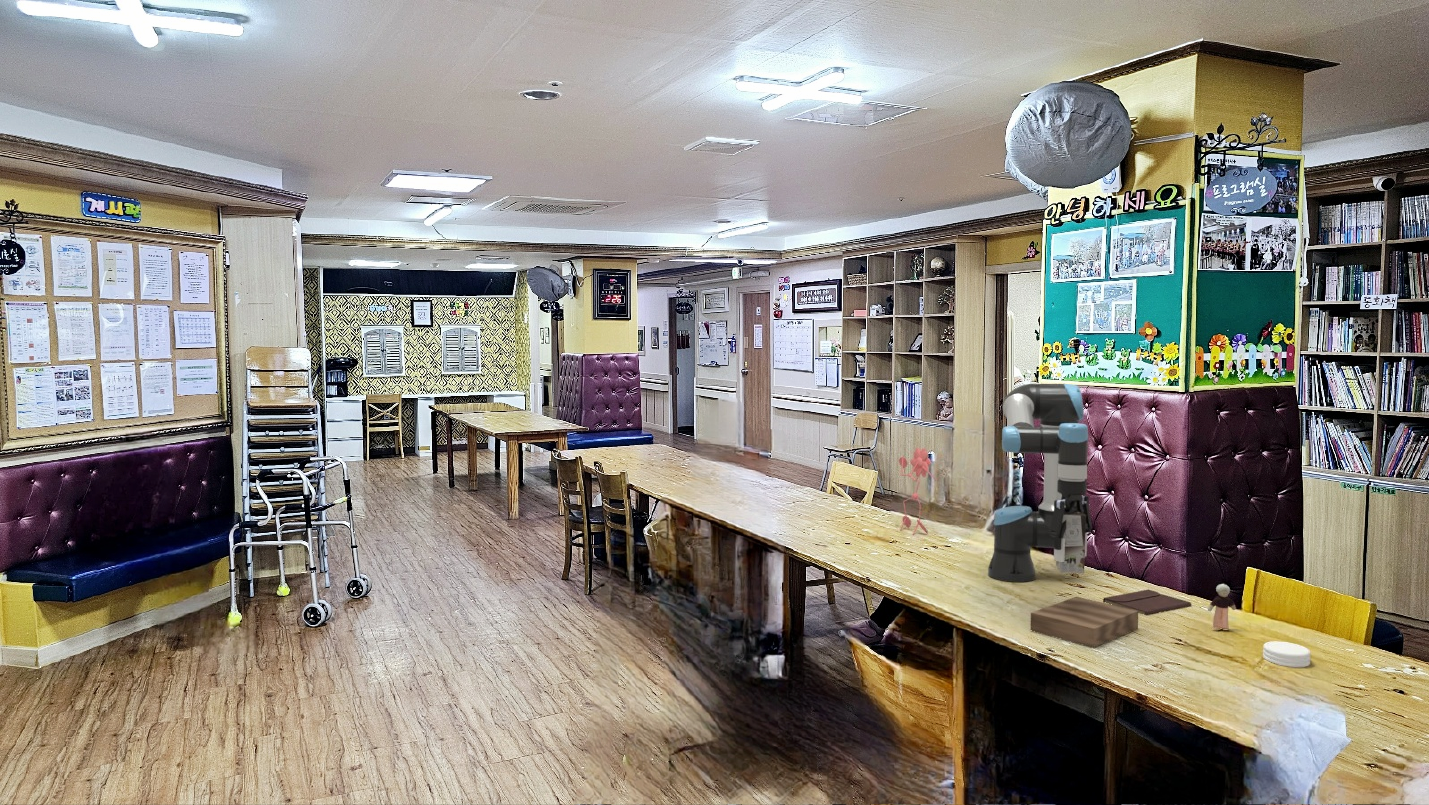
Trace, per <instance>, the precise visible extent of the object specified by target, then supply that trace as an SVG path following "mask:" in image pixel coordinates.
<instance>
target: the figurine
mask: <svg viewBox="0 0 1429 805" xmlns="http://www.w3.org/2000/svg"><path fill="white" fill-rule="evenodd" d="M928 456H929V451H926V448H925V447H923V448H921V449H920V447H918V446H917V447H915V450H914V451H913V458H912V459H910V460H909V461H910V465H911V466H912V470H911V472H910V473H909V474H906V473H903V472H904V471H903V469H905V468H906V467H907V466H908V464H909V463H908V460H907V458H905V456H900V457H899V459H898V462H899V465H900V466H901V473H900V475H901V476H904V477H906V476H908V477H910V478H911V479H912V480H914V481H915V482H916V483H917V485H916V486H917V487H916V490H915V493H912V494H911V497H909V498H908V499H905V500H903V502H902V504H903V509H904V516H903V517H902V519H901V520H902V524H901V526H900V529H899V531H902V530H903V527H904V526H905V527H906V528H907V529H909V528H911V526H912V521H911V519H910V517H909V516H907V512H906V506H905V502H906V501H909V500H911V499H912V500H914V501H915V500H917V502H918V504H919V512H918V513H919V515H918V519H916V522H917V523H916V525H915V528H914V531H913V533H912V535H913V536H914V535H915V534H916V531H917V528H921V529H922V531H923V532H925V533H926V534H927V535H928V534H929V532H928V530H927V527H926V526H925V525H924V524H923V523H922V522H921V506H922V505H921V501H920V499H919V494H918V489H919V485H920V481H919V480H918V479H919V478H920V476H922V477H923V478H926V476H927V473H928V474H929V476H931V477H932V478H933V480H935V482H936V481H938V480H937V479H936V478H935V477H934V475H932V474H931V472H930V468H929V466H930V465H931V464H932V461H931V459H930V458H929V457H928ZM913 472H915V477H916V478H915V477H914V476H912V475H913ZM925 527H926V528H925Z"/></svg>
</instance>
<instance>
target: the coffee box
mask: <svg viewBox="0 0 1429 805" xmlns="http://www.w3.org/2000/svg"><path fill="white" fill-rule="evenodd" d="M1064 512H1065V511H1064ZM1065 520H1066V530H1065V533H1064V536H1063V538H1065V559H1064V562H1059V561H1055V566H1056V567H1057V570H1059V571H1060V572H1061V573H1071V574H1072V573H1074V574H1085V558H1086V556H1085V530H1086V515H1085V514H1084V513H1083V512H1079V511H1078V512H1074V513H1073V514H1070V515H1068V514H1064V516H1063V521H1062V523H1063V522H1064V521H1065Z"/></svg>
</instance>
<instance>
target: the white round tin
mask: <svg viewBox="0 0 1429 805" xmlns="http://www.w3.org/2000/svg"><path fill="white" fill-rule="evenodd" d="M1262 647H1263V650H1262V652H1263V653H1262V657H1263V659H1264V660H1265V661H1267V662H1269V661H1270V663H1271V662H1272V663H1271V664H1274V663H1275V664H1274V665H1277V666H1278V665H1279V666H1283V667H1288V668H1306V667H1309V666H1310V665H1311V659H1312V657H1311V655H1312V653H1311V650H1310V649H1309V648H1307V647H1305V646H1303V645H1301V644H1297V643H1292V642H1287V641H1276V640H1275V641H1274V640H1271V641H1267V642H1265V643H1264V644H1263V645H1262Z"/></svg>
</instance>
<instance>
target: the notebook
mask: <svg viewBox="0 0 1429 805" xmlns="http://www.w3.org/2000/svg"><path fill="white" fill-rule="evenodd" d="M1105 602H1106V604H1108V603H1109V604H1112V605H1115V606H1119V607H1124V608H1128V609H1132V610H1137V611H1138V614H1140V615H1141V614H1142V615H1143V614H1144V616H1150V615H1155V614H1160V613H1159V612H1161V613H1165V612H1164V611H1166V612H1170V611H1175V610H1180V609H1185V608H1188V607H1192V603H1191V602H1192V601H1190V602H1189V601H1187V600H1184V599H1180V598H1177V597H1173V596H1169V595H1166V594H1163V593H1160V592H1158V591H1155V590H1151V589H1144V590H1138V591H1133V592H1127V593H1122V594H1117V595H1112V596H1107V597H1103V599H1102V603H1105Z"/></svg>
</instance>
